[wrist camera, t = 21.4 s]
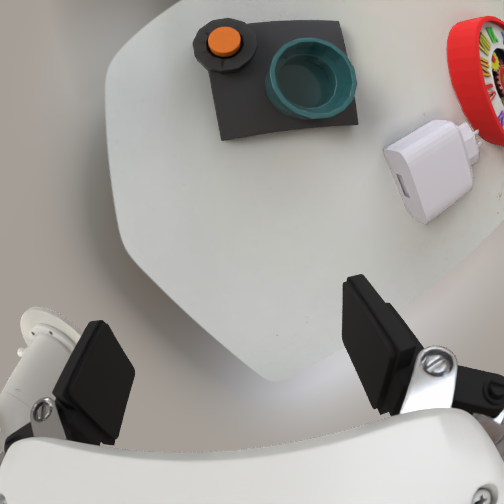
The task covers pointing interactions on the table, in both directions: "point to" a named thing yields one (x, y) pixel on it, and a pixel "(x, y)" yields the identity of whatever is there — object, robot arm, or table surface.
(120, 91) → the table surface
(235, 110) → the dark grey flat slab
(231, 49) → the button
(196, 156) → the table surface
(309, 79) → the bowl
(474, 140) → the charger
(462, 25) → the toy clock
